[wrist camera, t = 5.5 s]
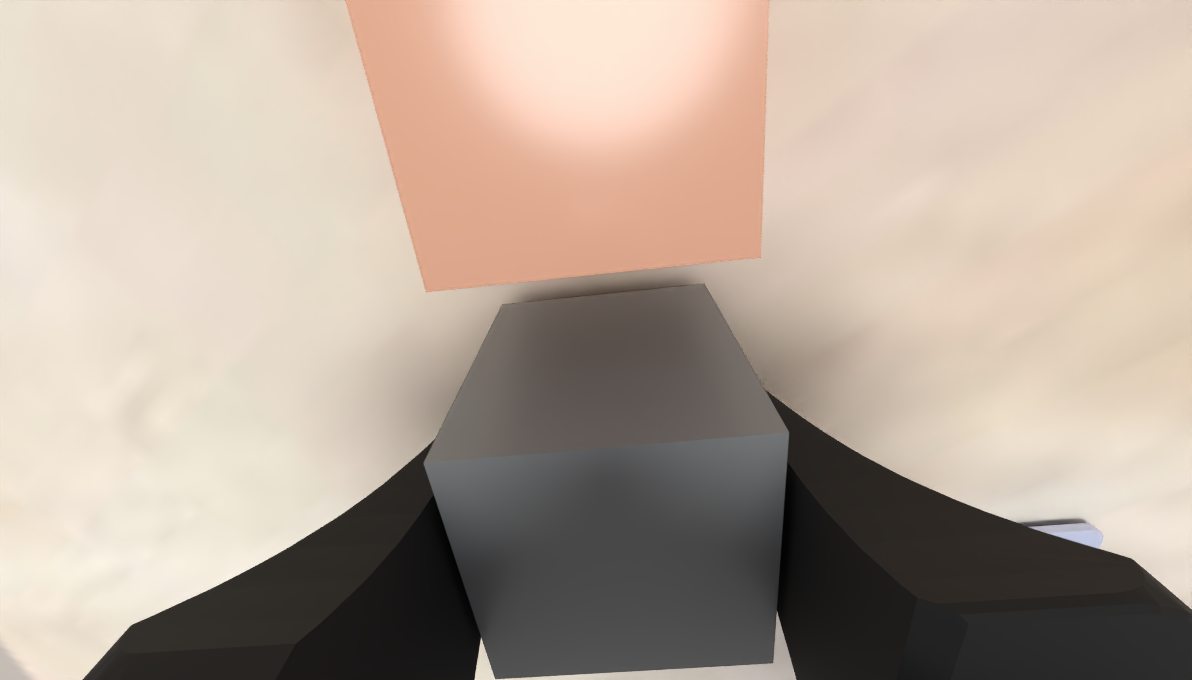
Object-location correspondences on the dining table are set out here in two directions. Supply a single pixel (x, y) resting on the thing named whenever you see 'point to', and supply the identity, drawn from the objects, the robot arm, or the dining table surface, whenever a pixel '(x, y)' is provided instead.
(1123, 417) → the dining table surface
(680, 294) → the cover
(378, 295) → the dining table surface
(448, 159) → the cover
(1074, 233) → the dining table surface
